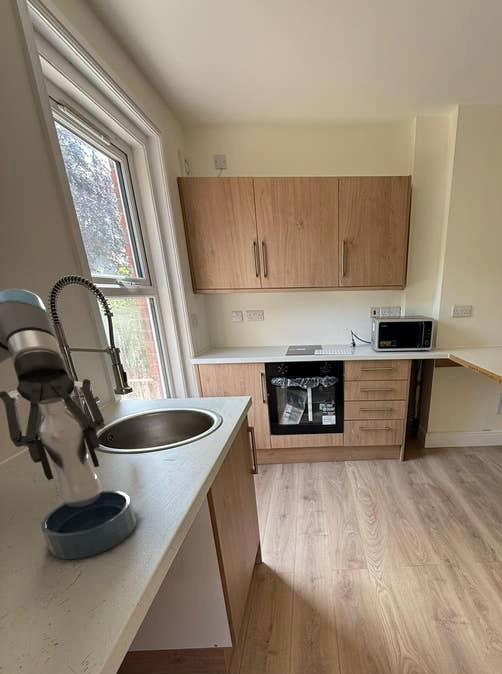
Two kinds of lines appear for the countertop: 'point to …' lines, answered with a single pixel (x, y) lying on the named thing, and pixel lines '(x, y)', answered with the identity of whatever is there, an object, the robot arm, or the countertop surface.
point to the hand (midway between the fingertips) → (73, 470)
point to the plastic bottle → (68, 454)
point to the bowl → (89, 526)
